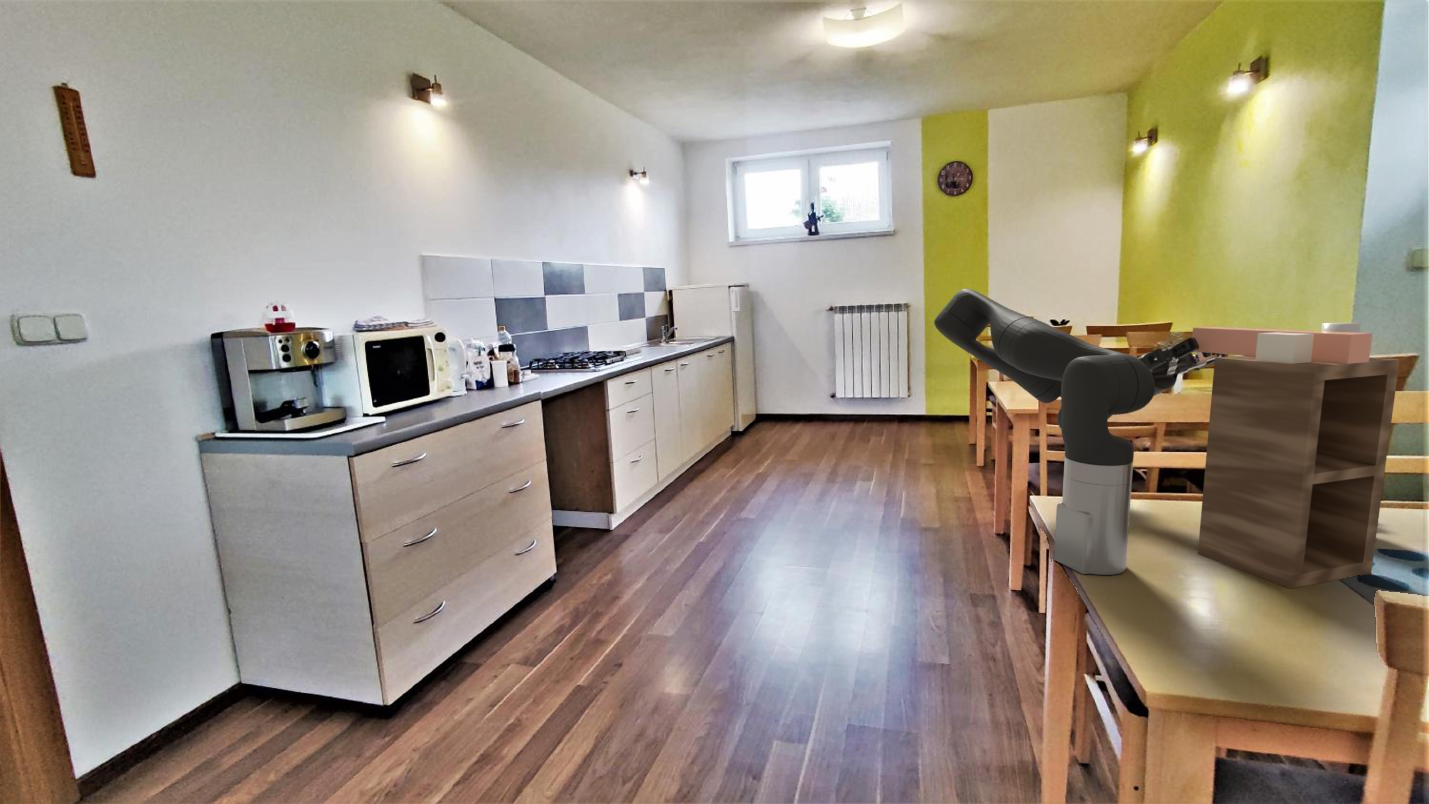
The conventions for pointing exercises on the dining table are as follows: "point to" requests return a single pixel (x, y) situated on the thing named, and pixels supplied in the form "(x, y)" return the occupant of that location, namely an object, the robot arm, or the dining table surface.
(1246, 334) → the coral bar brick
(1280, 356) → the off-white block brick
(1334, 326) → the grey-blue round brick
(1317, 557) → the walnut shelf
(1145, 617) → the dining table surface
